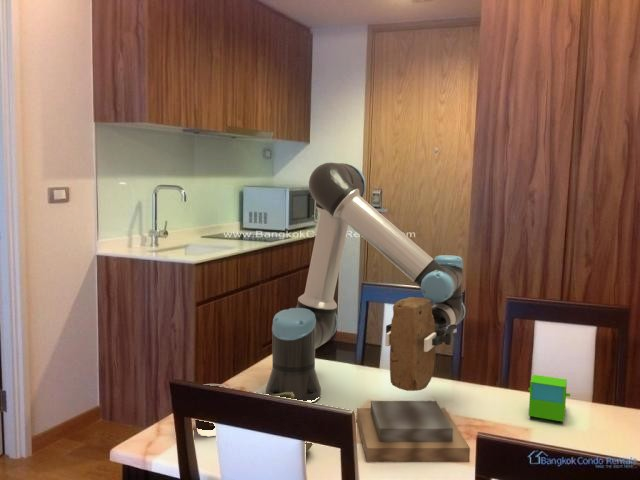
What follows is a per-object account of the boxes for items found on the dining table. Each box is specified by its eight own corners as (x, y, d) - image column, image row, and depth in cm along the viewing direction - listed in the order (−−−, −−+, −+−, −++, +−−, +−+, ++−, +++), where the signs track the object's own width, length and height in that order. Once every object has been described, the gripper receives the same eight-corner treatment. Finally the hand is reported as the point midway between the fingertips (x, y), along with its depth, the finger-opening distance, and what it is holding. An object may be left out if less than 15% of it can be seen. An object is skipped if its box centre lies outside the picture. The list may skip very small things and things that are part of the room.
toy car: (570, 408, 157) (572, 371, 156) (567, 427, 145) (570, 387, 144) (529, 401, 161) (531, 366, 160) (524, 419, 149) (526, 381, 148)
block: (414, 395, 129) (416, 305, 126) (385, 387, 133) (387, 300, 131) (438, 382, 137) (441, 297, 135) (410, 375, 142) (412, 293, 140)
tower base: (366, 461, 125) (367, 434, 125) (356, 419, 147) (357, 396, 147) (469, 461, 126) (470, 434, 126) (444, 419, 148) (445, 396, 147)
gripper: (477, 341, 145) (452, 366, 125) (397, 330, 155) (362, 352, 135) (478, 311, 145) (453, 332, 125) (397, 302, 154) (362, 320, 135)
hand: (406, 342), depth 130 cm, fingers closed on block, 8 cm apart
